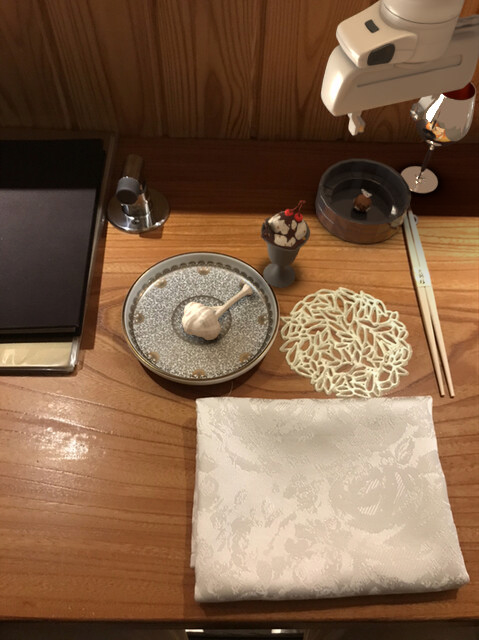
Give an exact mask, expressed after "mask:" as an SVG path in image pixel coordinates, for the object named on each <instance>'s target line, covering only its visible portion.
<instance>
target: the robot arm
mask: <svg viewBox="0 0 479 640" xmlns="http://www.w3.org/2000/svg"><path fill="white" fill-rule="evenodd" d="M465 1H466V0H378V1H376V2H375V3H373V4H372V5H370V6H368V7H367V8H365V9H364V10H362V11H360V12H358V13H357V14H355V15H352V16H349V18H346V19H345V20H343V21H341V22H340V23H339V24H338V25H337V28H336V33H335V37H336V40H337V41H338V43H339V44H338V45H337V46H335V48H334V49H333V50H332V52H331V53H330V55H329V57H328V60H327V63H326V67H325V71H324V75H323V78H322V84H321V92H320V97H321V100H322V103H323V104H324V107H326V109H327V110H328V111H329V112H330V113H331V115H332V116H334V117H341V116H345V115H347V116H348V119H349V121H348V122H349V123H348V131H349V132H350V134H351V135H352V136H356V135H361V134H364V131H365V130H364V129H365V128H366V122H365V121H364V119H363V118H362V117H361V116H362V113H363V111H368V110H371V109H376V108H382V107H385V106H390V105H394V104H399V103H403V102H408V101H412V100H417V99H419V100H418V102H414V103H412V105H411V109H410V111H409V116H410V117H411V118H412V119H413V120H412V121H414V122H415V121H418V120H422V119H425V118H426V115H427V113H428V110H429V109H430V108H431V107H432V106H433V105H434V104H435V103H436V102H437V101H438V100H439V99H440V97H441V94H442V93H444V92H449V91H453V90H458V89H462V88H464V87H465V86H466V85H467V84H468V83H469V82H471V81H472V79H473V77H474V73H475V71H476V67H477V64H478V60H479V13H478V14H475V13H474V14H470V15H468V16H463V17H462V16H461V17H460V15H461V12H462V9H463V6H464V3H465Z"/></svg>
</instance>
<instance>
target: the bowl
mask: <svg viewBox="0 0 479 640" xmlns="http://www.w3.org/2000/svg"><path fill="white" fill-rule="evenodd" d="M362 189H364V190H362ZM365 191H366V192H367V193H369V194H370V195H371V196H370V195H368V194H367V193H366V194H365V193H364V194H365V195H367V196H369V198H370V199H371V202H372V204H371V206H370V209H369V210H368V211H367V210H366V211H364V212H360V211H358V210H356V209H355V208H354V204H353V202H354V199H355V198H356V197H357V196H358V195H361V194H363V192H365ZM411 199H412V193H411V190H410V189H409V186H408V184H407V182H406V181H405V179H404V178H403V177H402V175H401V173H399V172H398V171H397V170H395V169H394V168H393V167H391V166H390V165H387V164H385V163H383V162H381V161H378V160H373V159H368V158H350V159H344V160H340V161H338V162H336V163H334V164H332V165H331V166H328V168H327V169H326V171H324V172H323V173H322V175H321V178H320V181H319V184H318V188H317V193H316V198H315V203H314V205H315V213H316V216H317V218H318V220H319V222H320V223H321V225H322V226H323V227H324V228H325V229H326V230H327V231H329V233H330V234H332V235H334V236H335V237H338V238H340V239H342V240H343V241H347V242H352V243H355V244H375V243H379V242H383V241H386V240H388V239H389V238H391V237H393V236H394V235H396V233H398V231H399V229H400V228H401V227H402V225H403V224H404V223H403V222H404V220H405V218H406V215H407V213H408V210H409V208H410V205H411V204H410V203H411Z"/></svg>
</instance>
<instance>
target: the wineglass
mask: <svg viewBox="0 0 479 640" xmlns="http://www.w3.org/2000/svg"><path fill="white" fill-rule="evenodd" d="M476 96H477V88H476V86H475V85H474V83H473V82H471V81H470V82H469V83H468V84H467V85H466V86H465V87H464V88H462V89H458V90H453V91H449V92H444V93H442V94H441V97H440V99H439V100H438V101H437V102H436V103H435V104H434V105H433V106H432V107H431V108H430V109H429V110H428V113H427V115H426V118H425V119H422V120H418V121H414V122H415V128H416V129H415V130H416V132H417V133H418V135H419V137H420V138H421V139H422V140H423V141H424V142H425V143H426V144H427V146H428V149H427V152H426V154H425V157H424V160H423V162H422V164H421V166H416V165H414V166H408V167H406V168H405V169H403V170H402V171H401V173H400V175H402V177H403V178H404V179H405V181H406V182H407V184H408V186H409V189H410V192H414V193H418V194H427V193H431V192H433V191H435V190H436V188H437V187H438V185H439V181H438V177H437V176H436V175H435V173H434V172H433V171H432V170H430V169H429V168H427V167H428V165H429V162H430V159H431V157H432V156H433V153H434V150H435V149H437V148H442V147H448V146H452V145H454V144H456V143H458V142H459V141H460V140H462V139H463V138H464V137H465V136H466V135H467V134H468V132H469V130H470V129H471V125H472V122H473V117H474V111H475V105H476Z"/></svg>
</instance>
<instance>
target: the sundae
mask: <svg viewBox="0 0 479 640" xmlns="http://www.w3.org/2000/svg"><path fill="white" fill-rule="evenodd" d="M303 204H306V200H299V203H298V204H297V206H296V207H294V208H292V209H291V208H286V209H285V211H280V212H278V213H275V214H273V215H270V216H267V217H266V218H264V219H263V222H262V224H261V229H260V238H261V239H262V240H263V241H264V242H265V243H266V249H267V256H268V258H269V260H270V261H269V262H271V263H269V264H267V265H266V266H265V268H263V269H264V270H263V273H262V276H263V279H264V281H265V280H266V281H267V282H266V281H265V282H266V283H267V284H268V285H270V287H271V286H272V287H274V288H279V289H282V288H287V287H290V286H291V285H292V284H293V282H294V281H295V279H296V272H295V270H294V268H293V267H292V266H290V265H291V264H293V263H294V262H295V260H296V258H297V257H298V254H299V252H300V250H301V248H302V247H303V246H305V245H306V243H307V242H308V241H309V239H310V237H311V229H310V227H309V225H308V223H307V221H306V220H305V219H304V216H303V214H301V208H302V206H303ZM298 208H299V209H298ZM296 209H298V212H296V213H294V211H295V210H296Z"/></svg>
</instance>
